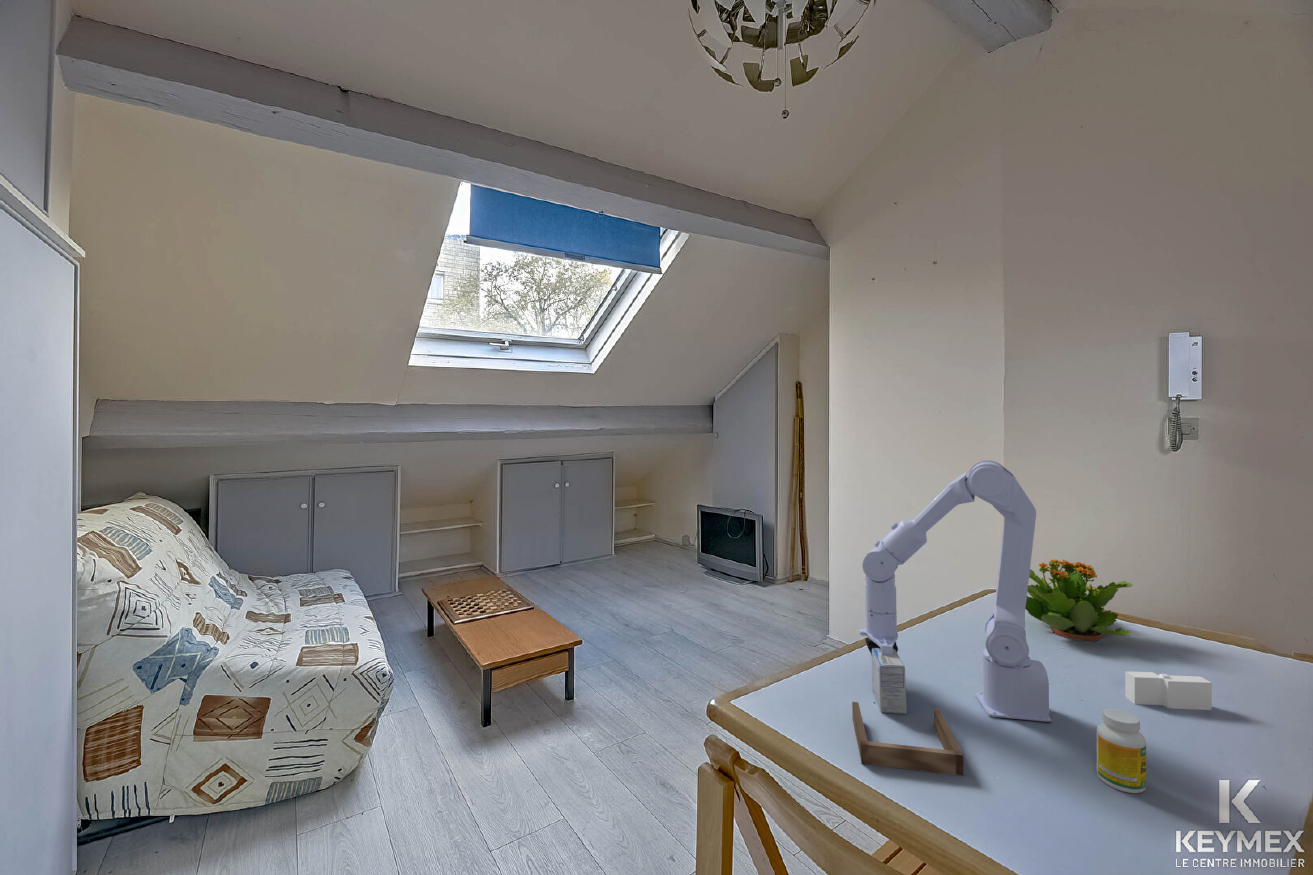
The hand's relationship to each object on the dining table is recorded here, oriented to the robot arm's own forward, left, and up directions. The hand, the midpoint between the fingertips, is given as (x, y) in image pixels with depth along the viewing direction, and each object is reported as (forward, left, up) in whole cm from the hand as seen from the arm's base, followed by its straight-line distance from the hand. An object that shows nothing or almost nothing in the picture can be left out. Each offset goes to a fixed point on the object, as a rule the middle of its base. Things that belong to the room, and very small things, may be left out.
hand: (881, 677), depth 109 cm
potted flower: (-48, -34, -1) cm, 59 cm away
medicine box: (0, +8, -1) cm, 8 cm away
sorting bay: (0, +21, -1) cm, 21 cm away
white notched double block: (-48, -2, -2) cm, 48 cm away
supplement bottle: (-28, +25, -1) cm, 38 cm away
